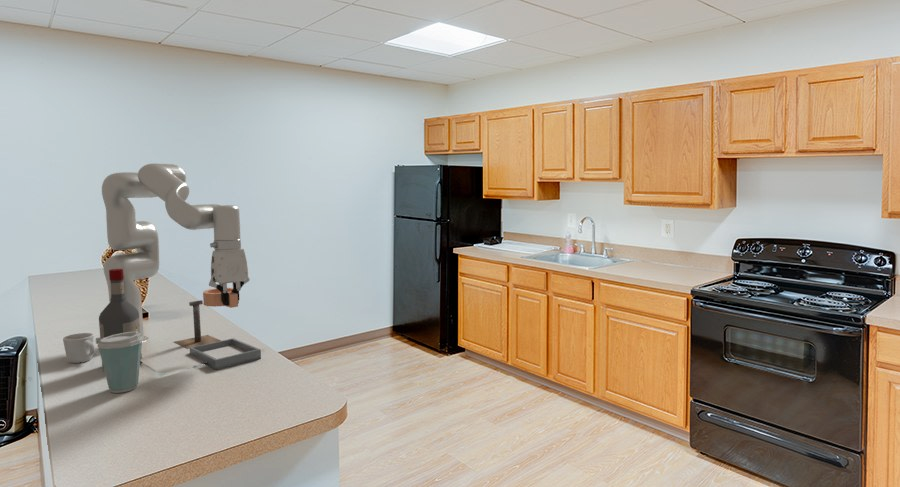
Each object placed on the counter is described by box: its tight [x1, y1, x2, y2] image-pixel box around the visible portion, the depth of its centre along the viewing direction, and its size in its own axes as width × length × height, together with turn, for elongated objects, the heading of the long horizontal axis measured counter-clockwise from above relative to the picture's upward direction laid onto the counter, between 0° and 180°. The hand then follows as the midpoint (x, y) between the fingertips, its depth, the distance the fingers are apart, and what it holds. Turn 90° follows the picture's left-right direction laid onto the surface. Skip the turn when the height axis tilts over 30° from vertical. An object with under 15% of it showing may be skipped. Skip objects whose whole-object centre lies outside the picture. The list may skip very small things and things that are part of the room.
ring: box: [202, 287, 239, 309], centre depth 172 cm, size 10×14×4 cm
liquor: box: [98, 269, 143, 369], centre depth 165 cm, size 9×9×30 cm
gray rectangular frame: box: [189, 338, 262, 371], centre depth 175 cm, size 15×19×3 cm
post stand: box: [173, 299, 222, 350], centre depth 188 cm, size 12×12×15 cm
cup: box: [62, 332, 95, 364], centre depth 171 cm, size 11×8×8 cm
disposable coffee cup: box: [97, 332, 144, 394], centre depth 148 cm, size 11×11×15 cm
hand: (230, 303), depth 169 cm, fingers closed on ring, 2 cm apart
